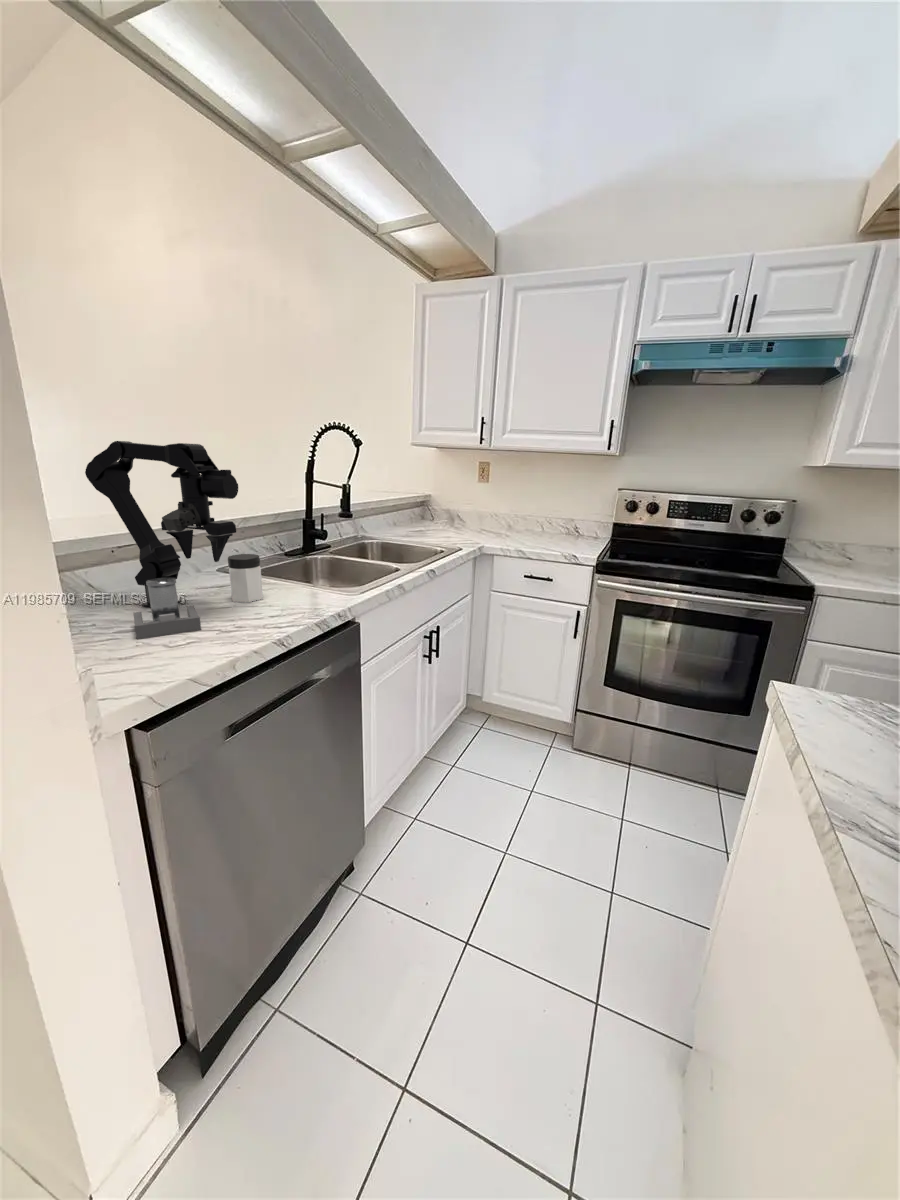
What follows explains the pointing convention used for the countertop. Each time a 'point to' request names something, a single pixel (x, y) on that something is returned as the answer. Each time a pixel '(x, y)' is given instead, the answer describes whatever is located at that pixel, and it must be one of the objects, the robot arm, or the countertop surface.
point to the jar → (245, 577)
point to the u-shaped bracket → (167, 624)
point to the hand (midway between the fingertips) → (202, 560)
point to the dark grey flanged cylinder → (163, 597)
